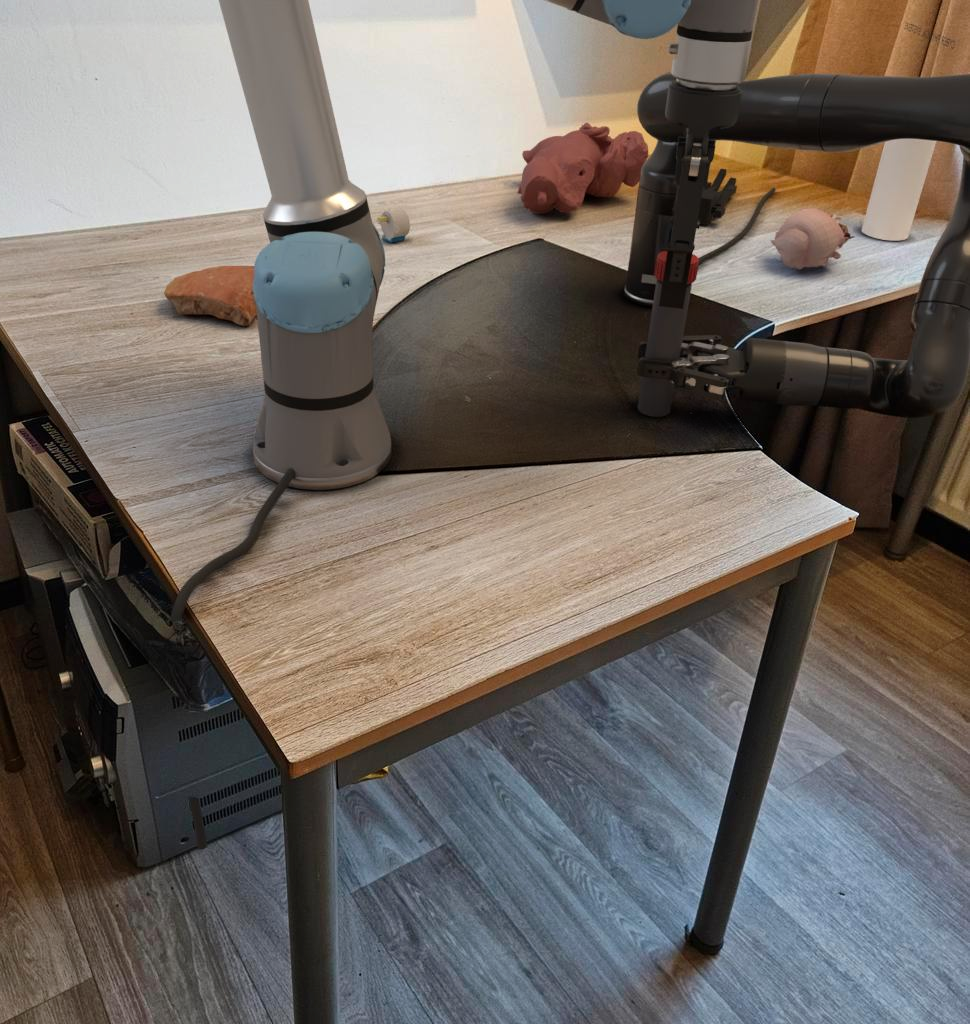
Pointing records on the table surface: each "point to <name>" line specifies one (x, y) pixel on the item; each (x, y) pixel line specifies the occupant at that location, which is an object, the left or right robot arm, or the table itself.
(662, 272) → the lid
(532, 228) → the table surface
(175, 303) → the ceramic shard
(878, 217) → the tall white tube
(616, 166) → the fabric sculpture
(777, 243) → the toy
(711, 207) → the black forked piece
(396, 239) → the electric motor
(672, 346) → the bottle
